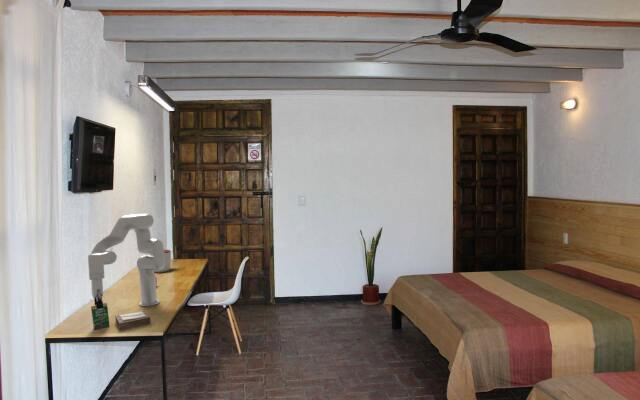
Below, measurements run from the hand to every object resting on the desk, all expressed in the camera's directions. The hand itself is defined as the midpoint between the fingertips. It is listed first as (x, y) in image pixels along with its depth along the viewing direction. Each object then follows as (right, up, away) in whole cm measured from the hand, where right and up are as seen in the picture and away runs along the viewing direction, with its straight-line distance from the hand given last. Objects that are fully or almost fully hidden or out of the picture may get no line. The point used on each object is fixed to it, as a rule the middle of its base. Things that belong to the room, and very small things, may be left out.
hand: (98, 306), depth 254 cm
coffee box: (+1, -12, +1) cm, 13 cm away
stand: (+16, -11, +6) cm, 21 cm away
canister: (-15, -3, +145) cm, 146 cm away
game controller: (-1, -7, +84) cm, 85 cm away
